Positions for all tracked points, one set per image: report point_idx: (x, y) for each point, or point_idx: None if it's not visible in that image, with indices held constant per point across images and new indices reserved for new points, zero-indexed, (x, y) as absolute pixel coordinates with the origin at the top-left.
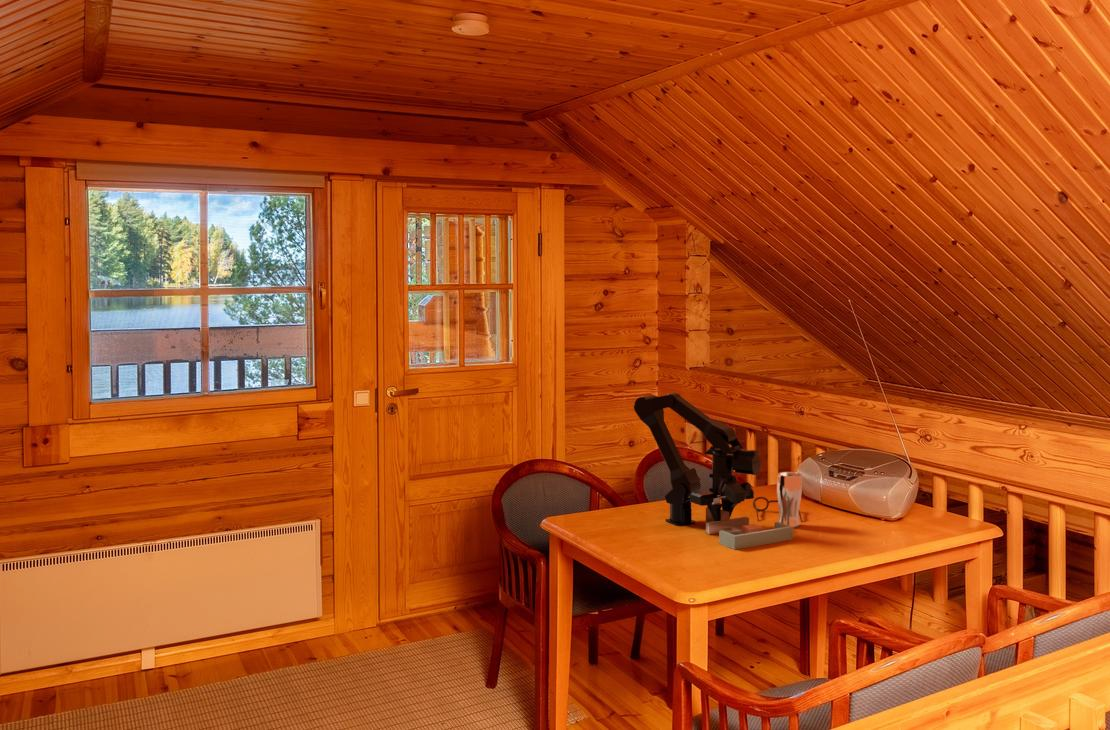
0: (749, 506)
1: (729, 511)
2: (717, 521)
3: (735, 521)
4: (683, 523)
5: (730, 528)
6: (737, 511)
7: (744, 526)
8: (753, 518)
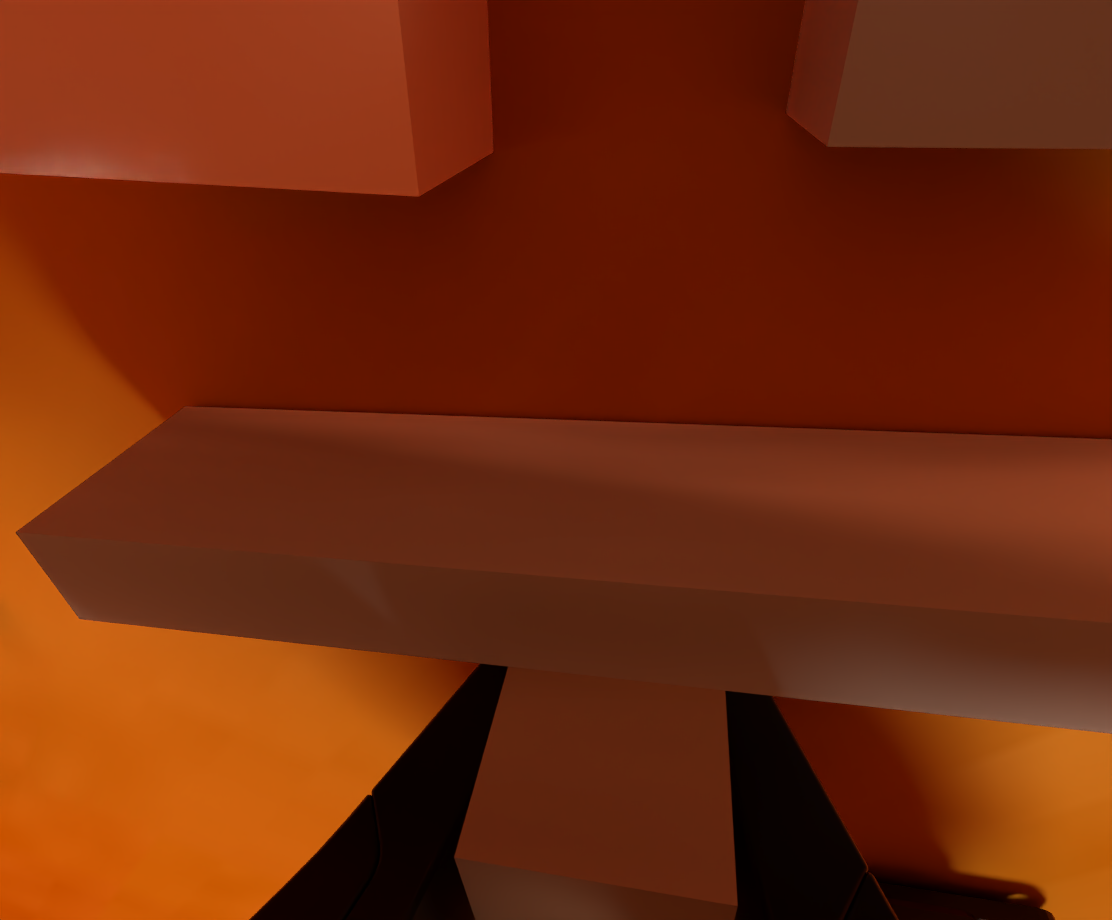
0: (21, 842)
1: (420, 883)
2: (945, 692)
3: (416, 536)
4: (961, 913)
5: (1107, 18)
6: (143, 832)
7: (369, 32)
8: (31, 672)
